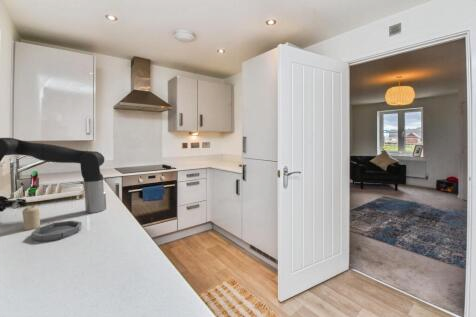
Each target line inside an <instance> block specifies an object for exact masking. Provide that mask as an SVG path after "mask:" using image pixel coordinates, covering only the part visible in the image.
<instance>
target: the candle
mask: <svg viewBox="0 0 476 317" xmlns="http://www.w3.org/2000/svg"><path fill="white" fill-rule="evenodd" d="M22 218H23V219H22V220H23V229H24V230H25V231H29V230H31V231H32V230H36V229H37V228H39V227H41V219H40V207H37V206H36V205H31V206H29V205H27V206H25V208H24V209H23V210H22Z"/></svg>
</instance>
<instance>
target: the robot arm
mask: <svg viewBox="0 0 476 317" xmlns="http://www.w3.org/2000/svg"><path fill="white" fill-rule="evenodd" d="M13 155H15V156H17V155H19V156H29V157H32V158H34V159H37V160H39V161H42V162H49V163H59V164H64V163H65V164H72V163H73V164H80V173H81V177H82V179H83V189H84V191H83V192H84V204H85V205H84V208H85V213H87V214H94V213H99V212H103V211H105V210H107V194H106V191H105V188H104V175H103V174H102V173H101V170H100V169H101V168H100V167H101V166H102V165H103V164H104V162H105V156H104V155H103V154H102V153H101V152H98V151H97V150H96V151H95V150H94V151H91V150H79V149H74V148H70V147H65V146H60V145H55V144H48V143H40V142H30V141H26V140H21V139H18V138H13V137H0V162H1V161H2V160H3V159H4V157H6V156H13ZM16 207H22V208H23V207H27V199H24V198H16V199H9V198H8V197H6V196H2V195H0V212H4V211H5V210H6V209H10V208H16Z"/></svg>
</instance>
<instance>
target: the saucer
mask: <svg viewBox="0 0 476 317" xmlns="http://www.w3.org/2000/svg"><path fill="white" fill-rule="evenodd" d="M82 226H83V225H82V221H76V220H65V221H56V222H51V223H48V224H46V225H42V226H40V227H39V228H36V229H34V231H32V232H31V234H30V235H31V238H32V239H33V240H34V241H35V242H52V241H57V240H58V241H59V240H62V239H66V238H69V237H72V236H74V235H76V234H79V232H81V230H82V228H81V227H82Z"/></svg>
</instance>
